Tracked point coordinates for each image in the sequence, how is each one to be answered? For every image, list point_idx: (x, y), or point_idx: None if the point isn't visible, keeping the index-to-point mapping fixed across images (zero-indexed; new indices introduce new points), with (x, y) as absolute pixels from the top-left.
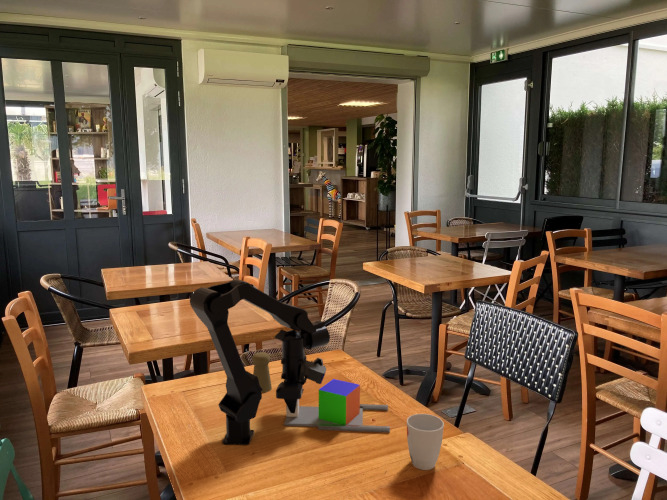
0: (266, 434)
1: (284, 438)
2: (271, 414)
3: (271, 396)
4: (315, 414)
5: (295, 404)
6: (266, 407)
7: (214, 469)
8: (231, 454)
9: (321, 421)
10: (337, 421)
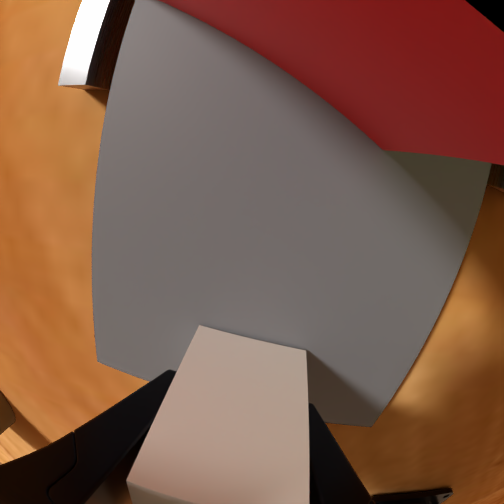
0: (413, 463)
1: (491, 399)
2: None
3: (16, 386)
4: (278, 166)
5: (357, 487)
6: None
7: (494, 497)
8: (465, 497)
9: None
10: (495, 12)
